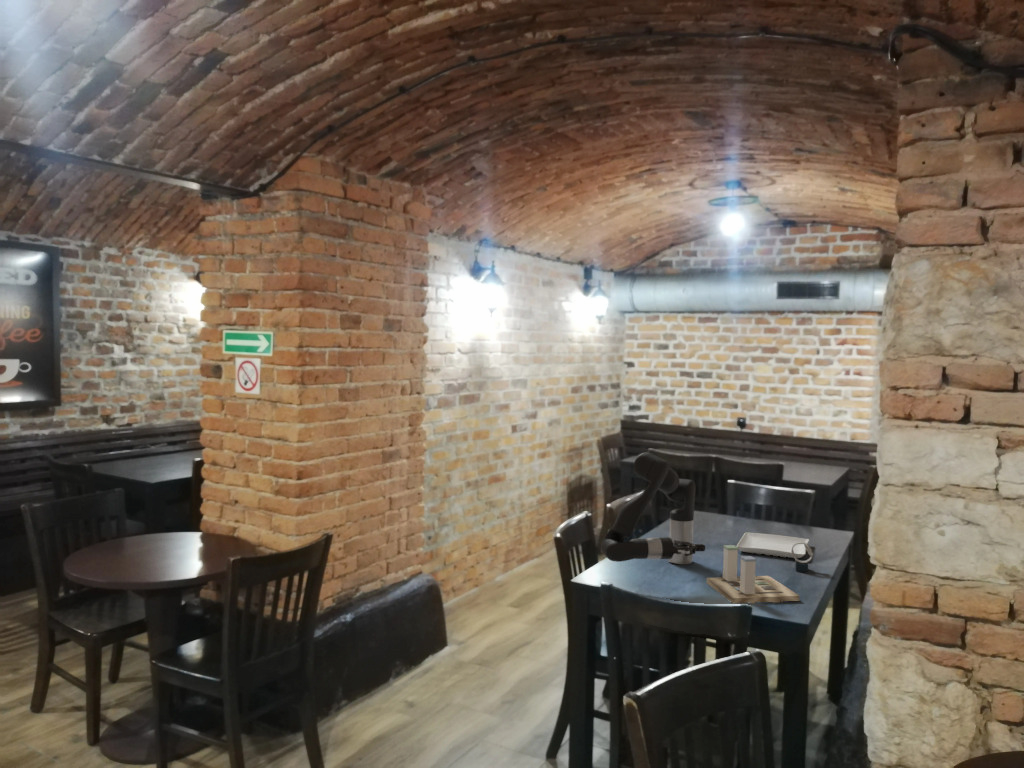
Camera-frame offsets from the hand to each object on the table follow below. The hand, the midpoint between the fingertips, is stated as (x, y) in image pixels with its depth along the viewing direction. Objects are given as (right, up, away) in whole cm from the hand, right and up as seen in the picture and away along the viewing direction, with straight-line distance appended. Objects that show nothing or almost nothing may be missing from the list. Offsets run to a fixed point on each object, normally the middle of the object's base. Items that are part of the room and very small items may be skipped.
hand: (704, 547), depth 272 cm
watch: (+44, -14, +23) cm, 51 cm away
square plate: (+43, -13, +52) cm, 68 cm away
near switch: (+12, -13, -11) cm, 21 cm away
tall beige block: (+10, -12, +2) cm, 16 cm away
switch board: (+16, -15, -4) cm, 22 cm away
